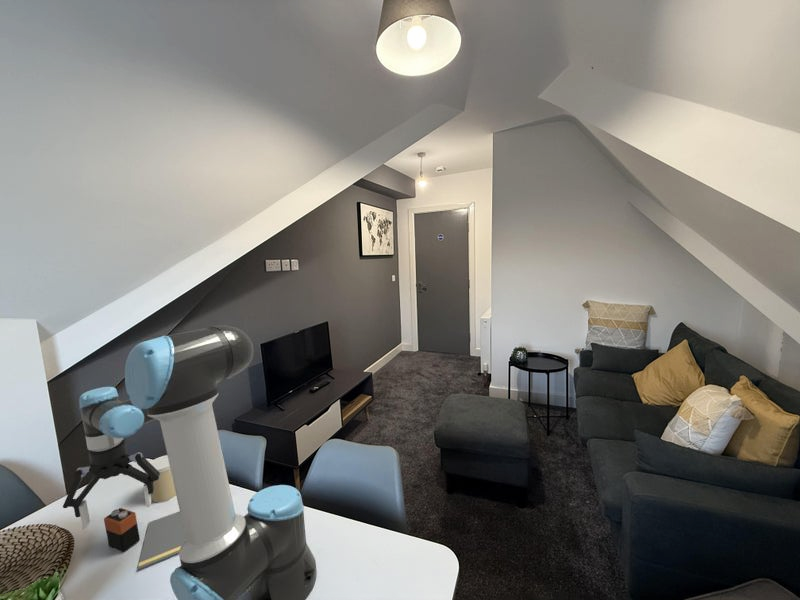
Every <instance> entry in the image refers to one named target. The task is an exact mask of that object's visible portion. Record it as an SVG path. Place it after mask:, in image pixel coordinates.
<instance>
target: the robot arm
mask: <svg viewBox="0 0 800 600" xmlns="http://www.w3.org/2000/svg"><path fill="white" fill-rule="evenodd" d="M130 350H131V351H130V352H129V353H128V356H127V358H126V361H125V366H124V384H125V390H126V393H127V395H128V396H129V399H126V400H123V401H121V400H119V394H118V391H117V388H116V387H114V386H102V387H98V388H93V389H91V390H88V391H85V392H84V393H82V394H81V395H80V396H79V399H78V401H79V409H78V410H80V415H81V418H82V419H81V420H82V424H83V430H84V435H85V440H86V447H87V450H88V451H87V453H88V459H89V463H90V465H89V466H84V465H81V466H79V467H77V469H76V471H75V472H74V480H73V483H72V485H71V488H70V490H69V492H68V493H67V496H66V498H65V500H64V503H63V505H62V508H63V509H68V508H70V507H71V508H73V509H74V511H73V512H74V516H75V518H80V521H81V525H82V530H85V529H87V528H88V525H90V522H91V519H90V514H89V509H88V502H87V499H85V498H86V496H87V495H88V494H89V493H90V491H92V489H93V488H94V486H95V485H96V484H97V483H98V481H99V480H101V479H102V480H107V479H109V478H112V477H113V478H114V477H117V476H119V475H120V474H121V475H124V476H128V477H130V478H132V479H134V480H136V481H138V482H140V483H142V484H143V493H144V499H145V500H144V501H145V506H146V508H150V507H151V504H152V496H151V494H152V493H153V491H154V485H153V482H154V481H156V480H158V479H159V475H160V472H159V471H158V470H157V469H156V468H154V467H153V466H152V465H151V464H150V461H149V460H147V459H146V457H145V456H144V453H143V452H142V450H137V451H136V453H134V454H131V455H129V454H128V450H127V444H126V439H124V438H128V437H130V436H133V435H135V434H136V432H138V431H139V430H140V429H141V428H142V427H143V425H145V424H148V423H150V422H153V421H155V420H157V421H158V422H159V423H160V427H161V433H162V438H163V441H164V446H165V450H166V451H165V452H166V455H167V456H168V460H169V465H170V469H171V474H172V478H173V483H174V487H175V491H176V496H175V497H176V499H177V504H178V509H179V511H180V514H181V518H182V523H183V527H184V532H185V536H186V540H185V541H184V543H183V544H182V546H181V548H180V551H179V555H178V556H179V562H180V566H177V567H176V568H175V569H174V570H173V572H171V574H170V577H169V580H170V581H169V583H170V587H171V589H172V592H173V593H174V596H175V598H176V599H177V600H238V599H239V598H240V597H241V596H242V595H243V594H244V593H245V592H246V591H247V590H248V589H249V596H250V597H249V598H250V600H306V599H307V598H308V596H309V595H310V594H311V592H312V590H313V588H314V587H315V583H316V581H317V573H318V572H317V571H318V570H317V563H316V558H315V556H314V554H313V553H312V550H311V548H310V547H309V545H308V543H307V535H306V527H305V524H306V523H305V514H304V511H305V507H304V506H305V505H304V503H303V499H302V495H301V493H300V491H299V490H298V489H297V488H296V487H294V486H291V485H287V484H279V485H272V486H268V487H265V488H263V489H261V490H259V491H257V492H256V493H255V494H254V495H252V497H251V498H250V499H249V501H248V504H247V505H248V506H247V508H246V509H247V513H246V514H245V515H244V516H243V515H241V514H238V513H236V511H235V507H234V502H233V496H232V492H231V488H230V483H229V482H230V481H229V479H228V474H227V469H226V462H225V460H224V455H223V451H222V450H223V449H222V446H221V445H222V444H221V440H220V437H219V436H220V435H219V431H218V426H217V421H216V416H215V413H214V408H213V403H214V401H215V400H216V399H217V397H218V396H219V389H218V383H219V382H222V381H225V380H226V379H231V378H233V377H235V376H237V375H239V374H240V373H241V372H244V371H245V369H247V367H249V365H250V364H251V363H252V360H253V358H254V345H253V343H252V340H251V338H250V337H249V336H248V335H247V334H246V332H244V331H243V330H241V329H239V328H237V327H234V326H230V325H212V326H208V327H205V328H199V329H194V330H190V331H185V332H179V333H174V334H170V335H162V336H159V337H156V338H152V339H149V340H146V341H142V342H140V343H137V344H136V345H134V346H133V348H132V349H130ZM130 461H132V462H133V463H136V464H137V465H138V467H140V468H141V469H142V470H143V471H142V470H140V469H139V468H136V467H134V466H133V465H132V464H130ZM88 472H89V473H90V474H92V475H94V476H93V477H92V479H91V480H90V481H89V482H88V483H87V485H86V486H85V488H84V489H82V491H81V493H79V495H78V496H77V497H76V498H74V497H75V495H76V493H77V492H78V491H77V490H78V489H79V486H80V485H81V483H82V480H83V478H84V477H86V476H87V473H88ZM145 472H146V473H147V474H146V473H145Z"/></svg>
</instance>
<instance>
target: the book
mask: <svg viewBox="0 0 800 600" xmlns="http://www.w3.org/2000/svg"><path fill="white" fill-rule="evenodd" d="M185 540H186V536H185V532H184V527H183V523H182V518H181V514H180V510H179V511H177V512H174V513H171V514H169V515H165V516H163V517H160V518H157V519H154V520H152V521H149V523H148V526H147V530H146V533H145V538H144V542H143V546H142V550H141V554H140V558H139V562H138V565H137V572H140V571H143V570H145V569H147V568H149V567H152V566H154V565H155V566H156V565H157V564H159V563H162V562H164V561H165V562H166V561H167V560H169V559H171V558H174V557H176V556H179V551H180V548H181V546H182V544H183V543H184V541H185Z"/></svg>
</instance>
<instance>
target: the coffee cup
mask: <svg viewBox="0 0 800 600" xmlns="http://www.w3.org/2000/svg"><path fill="white" fill-rule="evenodd" d="M149 463H150V464H151V465H152V466H153V467H154V468H156V469H157V470H158V471H159V472H160V475H159V479H158V480H156V481H154V482H153V485H154V491H153V493H152V494H150V495H151V500H152V501H153V502H154V503H156V504H157V503H164V502H167V501H170V500H171V499H173V498H174V497H177V496H176V491H175V487H174V483H173V478H172V474H171V469H170V465H169V460H168V456H167V454H166V455H162V456H160V457H157V458H154V459H152V460H151V461H149ZM144 473H146V472H145V471H144ZM146 474H147V473H146Z"/></svg>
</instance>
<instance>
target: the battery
mask: <svg viewBox="0 0 800 600" xmlns="http://www.w3.org/2000/svg"><path fill="white" fill-rule="evenodd" d="M137 520H138V519H137V515H136V512H134V511H131V510H129V509H126V508H123V507H119V508H117V509H113V511H112V512H111V513H109V515H107V516H105V517H104V518H103V523H104V527H105V533H106V538H107V543H108V547H109V548H111V549H114V550H117V551H118V552H119V551H120V552H122V553H126V552H127V551H128V550H130V549H131V548H133V546H135V545H136V544H137V543H138V542H140V540H141V539H140V538H141V537H140V532H139V526H138V521H137Z"/></svg>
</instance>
